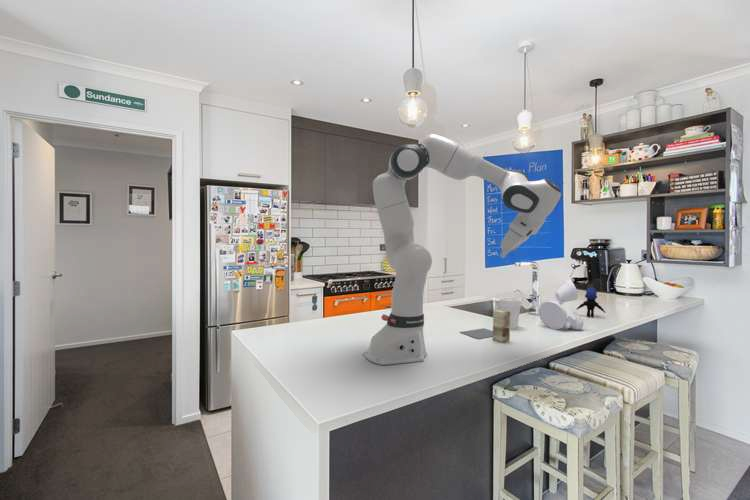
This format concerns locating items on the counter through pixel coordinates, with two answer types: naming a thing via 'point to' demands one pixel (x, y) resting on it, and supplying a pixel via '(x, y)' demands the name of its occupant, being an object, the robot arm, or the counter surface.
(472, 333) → the mat
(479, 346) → the counter surface
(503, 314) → the block
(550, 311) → the light fixture
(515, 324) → the foam cup
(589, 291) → the toy
